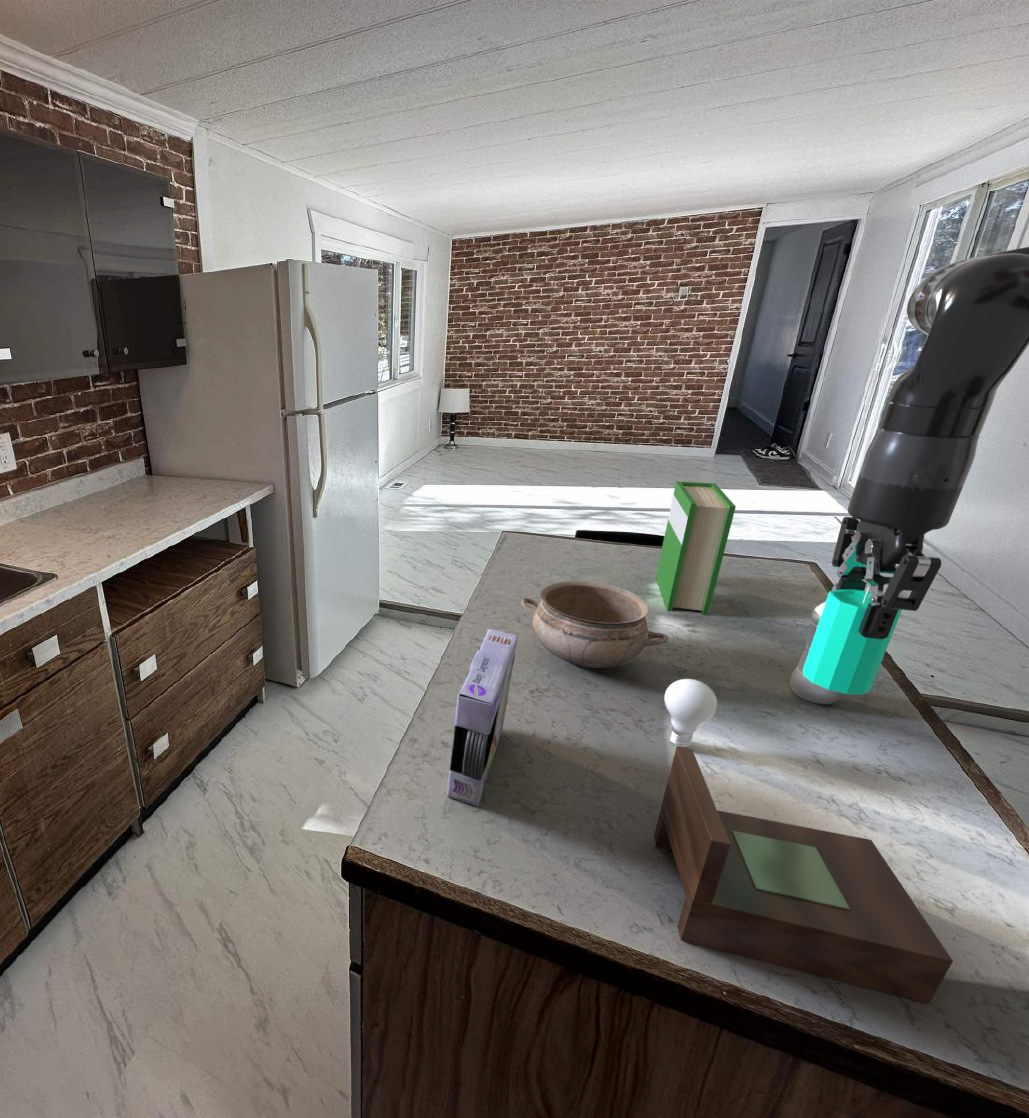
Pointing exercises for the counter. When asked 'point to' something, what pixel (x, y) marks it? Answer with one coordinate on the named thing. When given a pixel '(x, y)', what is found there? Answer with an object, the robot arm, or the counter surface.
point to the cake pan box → (480, 716)
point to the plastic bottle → (798, 680)
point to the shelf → (794, 894)
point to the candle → (845, 645)
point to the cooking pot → (592, 623)
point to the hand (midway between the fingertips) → (856, 622)
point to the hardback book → (694, 545)
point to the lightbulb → (688, 708)
